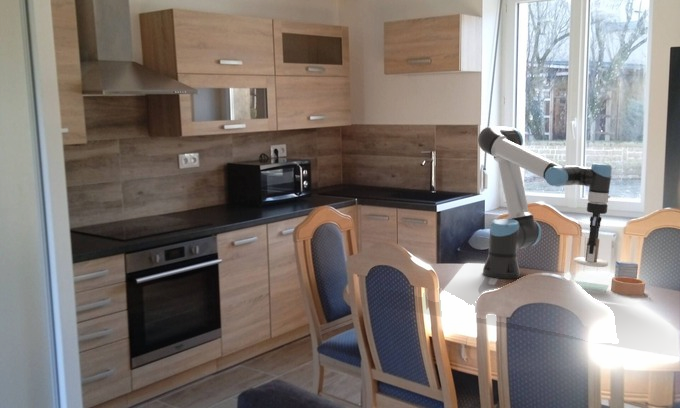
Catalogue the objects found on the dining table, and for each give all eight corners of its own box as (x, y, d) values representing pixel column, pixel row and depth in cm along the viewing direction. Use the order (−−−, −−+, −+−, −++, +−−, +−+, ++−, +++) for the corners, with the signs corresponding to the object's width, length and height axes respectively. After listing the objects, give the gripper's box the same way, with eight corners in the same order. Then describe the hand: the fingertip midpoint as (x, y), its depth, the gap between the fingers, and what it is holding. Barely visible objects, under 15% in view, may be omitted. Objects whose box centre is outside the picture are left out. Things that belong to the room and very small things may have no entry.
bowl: (609, 293, 270) (610, 281, 269) (612, 287, 281) (613, 275, 280) (643, 298, 265) (644, 285, 264) (644, 291, 276) (645, 279, 275)
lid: (571, 263, 275) (574, 239, 273) (575, 257, 286) (578, 234, 285) (606, 268, 269) (609, 243, 268) (609, 262, 281) (612, 238, 279)
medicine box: (633, 282, 292) (635, 261, 291) (636, 284, 288) (638, 264, 287) (613, 280, 293) (615, 260, 292) (616, 283, 289) (618, 262, 288)
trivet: (570, 288, 276) (570, 287, 276) (575, 282, 287) (575, 280, 287) (605, 293, 270) (605, 292, 270) (608, 286, 282) (608, 285, 282)
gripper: (605, 206, 265) (598, 265, 268) (609, 201, 280) (602, 257, 284) (585, 203, 268) (578, 262, 271) (590, 199, 284) (583, 255, 287)
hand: (591, 260), depth 278 cm, fingers closed on lid, 4 cm apart
